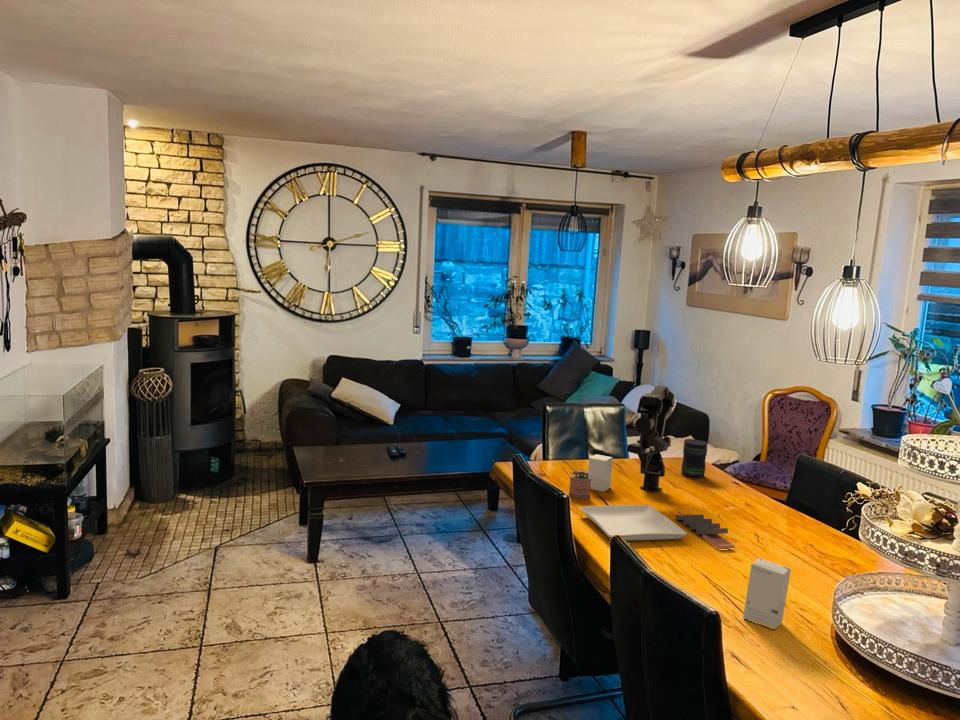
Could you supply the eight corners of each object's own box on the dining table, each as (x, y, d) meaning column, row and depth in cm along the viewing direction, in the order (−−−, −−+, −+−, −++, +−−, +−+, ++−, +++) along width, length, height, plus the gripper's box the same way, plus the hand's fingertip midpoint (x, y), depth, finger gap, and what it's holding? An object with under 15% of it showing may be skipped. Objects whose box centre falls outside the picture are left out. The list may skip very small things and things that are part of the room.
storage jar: (707, 479, 299) (710, 445, 297) (684, 478, 299) (687, 444, 298) (700, 472, 309) (703, 439, 307) (678, 471, 309) (681, 438, 307)
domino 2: (682, 520, 243) (698, 519, 233) (695, 519, 244) (711, 518, 235) (683, 525, 242) (698, 524, 233) (696, 524, 244) (712, 523, 234)
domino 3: (689, 524, 238) (706, 523, 229) (702, 524, 240) (719, 523, 230) (689, 529, 238) (707, 528, 229) (702, 529, 239) (720, 528, 230)
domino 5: (702, 534, 230) (720, 545, 221) (716, 533, 232) (734, 545, 222) (702, 538, 231) (719, 550, 221) (715, 538, 232) (733, 550, 222)
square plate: (609, 546, 220) (610, 534, 220) (577, 515, 247) (578, 505, 246) (687, 543, 227) (689, 531, 226) (648, 513, 253) (649, 503, 253)
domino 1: (675, 515, 247) (690, 514, 238) (687, 514, 249) (703, 514, 239) (675, 520, 247) (690, 519, 237) (688, 519, 248) (704, 519, 239)
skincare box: (742, 619, 177) (748, 563, 175) (750, 611, 181) (757, 556, 179) (777, 632, 171) (783, 573, 169) (784, 623, 176) (791, 566, 174)
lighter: (589, 496, 268) (591, 470, 267) (590, 498, 265) (592, 473, 264) (568, 494, 269) (570, 468, 268) (568, 497, 266) (570, 471, 264)
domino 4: (696, 529, 234) (713, 528, 225) (709, 528, 236) (727, 528, 226) (696, 534, 234) (714, 533, 225) (709, 533, 235) (728, 533, 226)
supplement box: (611, 488, 280) (613, 457, 278) (603, 492, 274) (606, 460, 272) (593, 484, 284) (596, 453, 282) (586, 488, 278) (588, 457, 276)
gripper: (653, 435, 252) (649, 477, 254) (680, 429, 265) (676, 469, 267) (627, 429, 260) (623, 470, 262) (654, 423, 273) (651, 462, 275)
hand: (644, 468), depth 266 cm, fingers closed
